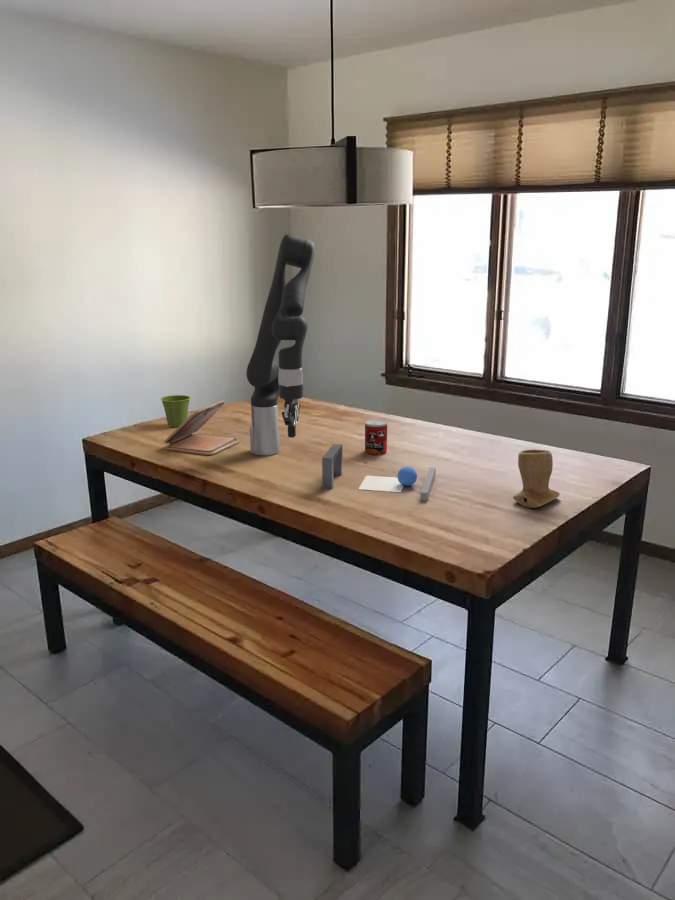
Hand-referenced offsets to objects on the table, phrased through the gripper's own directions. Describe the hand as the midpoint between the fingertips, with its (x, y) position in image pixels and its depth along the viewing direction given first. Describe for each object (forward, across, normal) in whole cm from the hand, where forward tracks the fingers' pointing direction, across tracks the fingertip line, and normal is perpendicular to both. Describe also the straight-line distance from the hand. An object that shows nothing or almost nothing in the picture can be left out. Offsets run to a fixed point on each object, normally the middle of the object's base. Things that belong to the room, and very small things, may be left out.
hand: (291, 436), depth 236 cm
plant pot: (+14, -53, -63) cm, 83 cm away
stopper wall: (+14, 0, +43) cm, 45 cm away
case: (+14, -28, -42) cm, 52 cm away
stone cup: (+14, +5, +74) cm, 75 cm away
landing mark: (+14, 0, +29) cm, 32 cm away
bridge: (+14, 0, +13) cm, 19 cm away
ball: (+10, 0, +36) cm, 38 cm away
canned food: (+14, -33, +21) cm, 41 cm away
